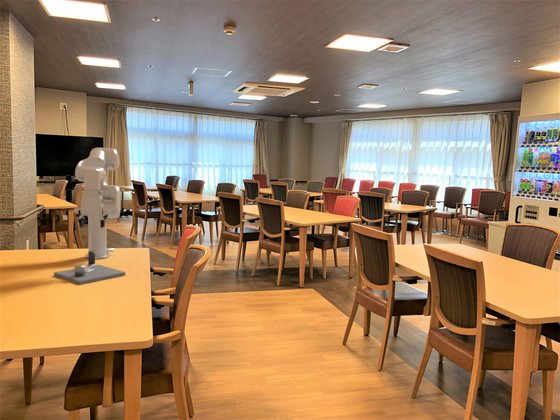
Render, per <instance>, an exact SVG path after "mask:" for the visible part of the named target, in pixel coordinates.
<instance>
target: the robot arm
mask: <svg viewBox="0 0 560 420" xmlns="http://www.w3.org/2000/svg"><path fill="white" fill-rule="evenodd" d="M119 167H120V157H119V153H118V151H117V150H116V149H115V148H110V147H95V148H92V149H91V150H90V153H89V156H88V157H87V158H85V159H82V160H80V161H79V162H78V163H77V165H76V167H75V172H74V175H75V178H76V180H77V181H78V182H83V194H82V196H81V201H80V203H81V204H80V206H79V207H78V208H75V209H73V212H74V215H75V216H76V217H77V218H78V221H79V227H80V228H83V227H84V226H85V218H84V217H87V218H88V219H87V220H88V221H87V222H88V226H87V227H88V245H87V246H88V251H95V260H99V259H100V260H101V259H107V258H109V257H110V254H109V253H111V252H112V253H113V252H115V248H108V246H107V245H108V244H107V241H108V240H107V237H108V236H107V235H108V233H107V232H108V230H107V227H108V226H107V224H106V219H119V217H120V215H121V214H120V213H121V202H122V201H121V199H122V197H121V195H122V193H121V188H120V187H119V186H117V185H114V184H113V185H111V184H108V177H107V171H117V170H119ZM79 211H80V213H79ZM88 251H87V252H88ZM85 258H86V259H88V253H86V254H85Z"/></svg>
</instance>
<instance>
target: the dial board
mask: <svg viewBox="0 0 560 420" xmlns="http://www.w3.org/2000/svg"><path fill="white" fill-rule="evenodd" d="M53 275H54V277H58V278H61V279H63V280H66V281H69V282H72V283H74V284H77V285H85V284H91V283H95V282H101V281H104V280H108V279H115V278H119V277H123V276H124V277H125V276H126V271H122V270H119V269H116V268H112V267H108V266H105V265H103V264H95V266H94V267H93V268H91V269H90V270H88V271H87V272H85V275H81V276H76V275H75V268H72V269H66V270H65V269H64V270H61V271H54V272H53Z"/></svg>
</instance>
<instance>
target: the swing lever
mask: <svg viewBox="0 0 560 420" xmlns="http://www.w3.org/2000/svg"><path fill="white" fill-rule="evenodd" d="M87 252H88V253H87V254H88V258H87V259H88V260H87V264H86V265H84V264H77V265H74V269H75V275H76V276H81V275H85V272H87V271H88V270H90V269H91V268H93V267H94V266H95V265H96V259H95V251H87Z"/></svg>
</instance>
